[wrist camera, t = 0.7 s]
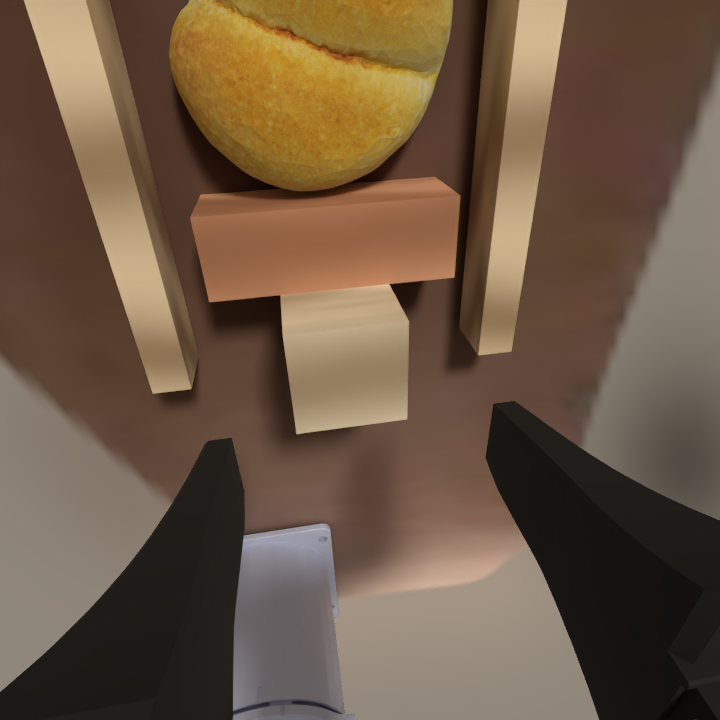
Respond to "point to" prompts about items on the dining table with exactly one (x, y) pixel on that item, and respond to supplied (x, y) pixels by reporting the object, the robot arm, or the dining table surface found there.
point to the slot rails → (144, 213)
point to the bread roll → (308, 81)
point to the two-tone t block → (333, 283)
